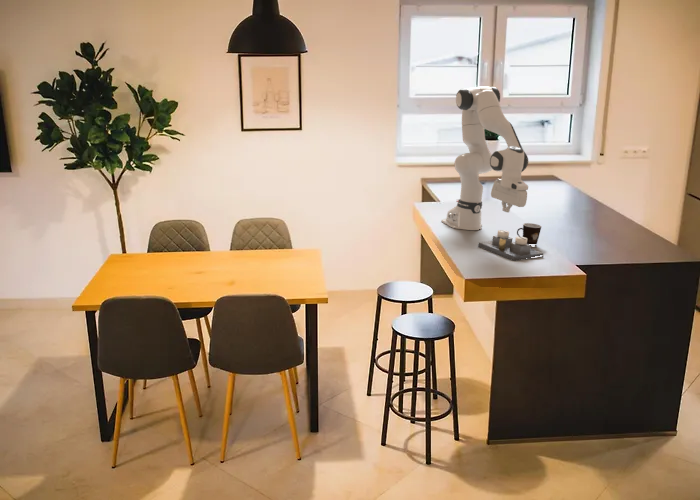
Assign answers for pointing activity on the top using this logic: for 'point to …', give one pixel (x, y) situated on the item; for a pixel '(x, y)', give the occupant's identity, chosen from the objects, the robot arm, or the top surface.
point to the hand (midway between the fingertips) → (505, 211)
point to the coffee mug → (530, 232)
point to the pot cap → (502, 243)
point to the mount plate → (510, 249)
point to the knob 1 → (503, 234)
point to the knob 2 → (521, 240)
